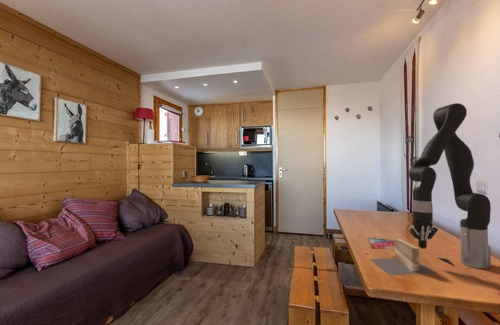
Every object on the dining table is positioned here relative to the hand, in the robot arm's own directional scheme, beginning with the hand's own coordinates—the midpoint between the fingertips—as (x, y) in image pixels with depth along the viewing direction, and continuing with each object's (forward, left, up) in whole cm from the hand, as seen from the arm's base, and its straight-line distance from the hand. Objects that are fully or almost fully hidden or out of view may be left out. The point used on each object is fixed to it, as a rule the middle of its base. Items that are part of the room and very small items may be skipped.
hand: (422, 248), depth 107 cm
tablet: (-1, -27, -9) cm, 29 cm away
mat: (+10, 0, -9) cm, 13 cm away
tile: (+8, 0, -8) cm, 11 cm away
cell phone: (-9, -6, -9) cm, 14 cm away
